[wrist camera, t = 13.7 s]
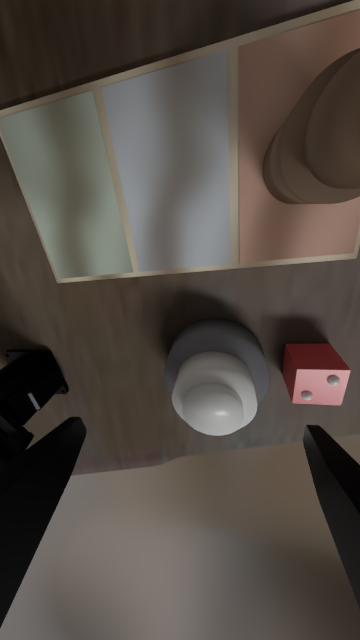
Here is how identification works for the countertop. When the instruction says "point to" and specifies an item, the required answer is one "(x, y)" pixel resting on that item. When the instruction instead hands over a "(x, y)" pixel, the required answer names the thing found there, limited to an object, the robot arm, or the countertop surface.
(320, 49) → the board
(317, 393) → the red and grey pieces
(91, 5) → the countertop surface
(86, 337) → the countertop surface
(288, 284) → the countertop surface
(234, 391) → the whipped cream
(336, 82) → the pawn
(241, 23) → the countertop surface
